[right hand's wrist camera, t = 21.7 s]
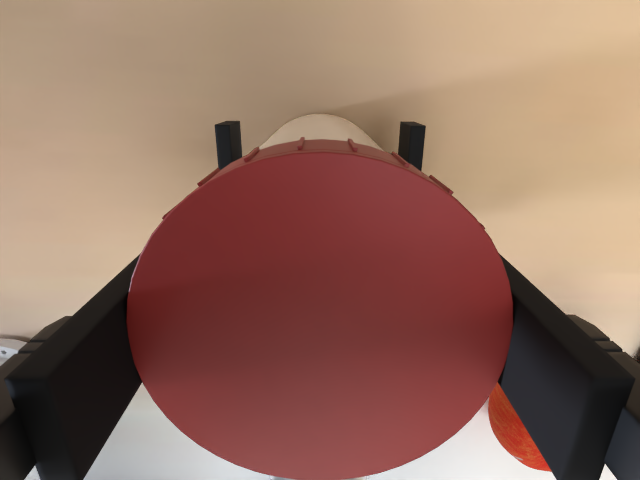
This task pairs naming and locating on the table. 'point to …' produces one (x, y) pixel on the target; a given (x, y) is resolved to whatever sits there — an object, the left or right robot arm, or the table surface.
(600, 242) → the table surface
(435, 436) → the lid
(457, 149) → the table surface
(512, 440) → the apple
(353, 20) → the table surface
